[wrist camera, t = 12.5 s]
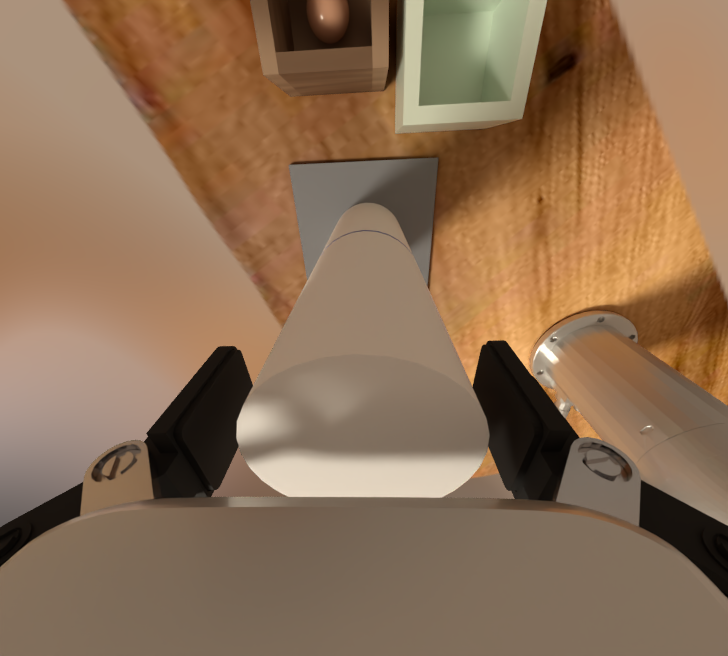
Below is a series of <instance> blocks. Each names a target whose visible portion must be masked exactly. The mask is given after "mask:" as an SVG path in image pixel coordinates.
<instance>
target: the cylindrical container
mask: <svg viewBox="0 0 728 656" xmlns="http://www.w3.org/2000/svg"><path fill="white" fill-rule="evenodd" d="M489 436H490V435H489V429H488V424H487V419H486V416H485V414H484V412H483V410H482V408H481V405H480V403H479V401H478V399H477V396H476V394H475V392H474V390H473V388H472V385H471V383H470V381H469V379H468V376H467V374H466V372H465V370H464V367H463V365H462V363H461V361H460V359H459V356H458V354H457V352H456V350H455V347H454V345H453V343H452V341H451V338H450V336H449V334H448V332H447V330H446V327H445V325H444V323H443V321H442V318H441V316H440V314H439V312H438V310H437V307H436V305H435V303H434V301H433V298H432V296H431V294H430V292H429V289H428V287H427V285H426V283H425V281H424V278H423V276H422V274H421V272H420V269H419V267H418V265H417V263H416V261H415V258H414V256H413V254H412V252H411V249H410V247H409V245H408V243H407V241H406V238H405V236H404V234H403V232H402V230H401V227H400V225H399V223H398V221H397V219H396V217H395V216H394V215H393V213H391V212H390V211H389V210H388V209H387V208H385V207H383V206H382V205H379V204H375V203H360V204H357V205H355V206H352V207H351V208H349V209H348V210H347V211H346V212H345V213H344V214H343V215H342V216H341V218H340V219H339V221H338V223H337V225H336V226H335V228H334V230H333V232H332V234H331V236H330V238H329V240H328V242H327V244H326V246H325V248H324V250H323V252H322V254H321V255H320V257H319V259H318V261H317V263H316V265H315V267H314V269H313V271H312V273H311V275H310V277H309V279H308V281H307V283H306V284H305V286H304V288H303V290H302V292H301V294H300V296H299V298H298V300H297V302H296V304H295V306H294V308H293V310H292V311H291V313H290V315H289V317H288V319H287V321H286V323H285V325H284V327H283V329H282V331H281V333H280V335H279V337H278V339H277V341H276V342H275V344H274V347H273V348H272V350H271V352H270V354H269V356H268V358H267V360H266V362H265V364H264V366H263V368H262V370H261V372H260V374H259V375H258V377H257V379H256V381H255V383H254V385H253V387H252V389H251V391H250V393H249V395H248V397H247V399H246V400H245V402H244V404H243V407H242V409H241V412H240V415H239V417H238V420H237V434H236V438H237V442H238V445H239V449H240V452H241V455H242V456H243V458H244V459H245V461H246V463H247V464H248V466H249V467H250V469H251V470H252V471H254V473H255V474H256V475H257V476H258V477H259V478H260V479H261V480H262V481H264V482H265V483H267V484H268V485H269V486H271V487H272V488H274V489H275V490H277V491H279V492H280V493H282V494H284V495H286V496H288V497H427V498H441V497H443V496H445V495H447V494H449V493H451V492H452V491H454V490H456V489H457V488H458V487H460V486H461V485H462V484H464V483H465V482H466V481H467V480H469V479H470V477H471V476H472V475H473V474H474V473H475V472H476V470H477V469H478V468H479V467H480V465H481V463H482V461H483V459H484V457H485V455H486V453H487V449H488V443H489Z"/></svg>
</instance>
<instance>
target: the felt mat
mask: <svg viewBox="0 0 728 656" xmlns="http://www.w3.org/2000/svg"><path fill="white" fill-rule="evenodd" d="M437 169H438V158H419V159H398V160H378V161H358V162H338V163H318V164H298V165H289V170H290V176H291V182H292V188H293V194H294V201H295V207H296V213H297V219H298V225H299V232H300V238H301V244H302V250H303V256H304V263H305V269H306V275H307V281H308V279H309V277H310V275H311V273H312V271H313V269H314V267H315V265H316V263H317V261H318V259H319V257H320V255H321V254H322V252H323V250H324V248H325V246H326V244H327V242H328V240H329V238H330V236H331V234H332V232H333V230H334V228H335V226H336V225H337V223H338V221H339V219H340V218H341V216H342V215H343V214H344V213H345V212H346V211H347V210H348V209H349V208H351V207H352V206H355V205H357V204H360V203H375V204H379V205H382V206H383V207H385V208H387V209H388V210H389V211H390V212H391V213H393V215H394V216H395V217H396V219H397V221H398V223H399V225H400V227H401V230H402V232H403V234H404V236H405V238H406V241H407V243H408V245H409V247H410V249H411V252H412V254H413V256H414V258H415V261H416V263H417V265H418V267H419V269H420V272H421V274H422V276H423V278H424V281H425V283H426V285H427V286H428V274H429V263H430V251H431V239H432V228H433V216H434V204H435V193H436V181H437Z"/></svg>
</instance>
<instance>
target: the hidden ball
mask: <svg viewBox="0 0 728 656" xmlns="http://www.w3.org/2000/svg"><path fill="white" fill-rule="evenodd" d="M306 11H307V19H308V22H309V25H310V28H311V30H312V32H313V33H314V35H315V36H316V37H317V38H318V39H319V40H320V41H322V42H324V43H327V44H333V43H336V42H338V41H339V40H340V39H341V38H342V37H343V36H344V34H345V32H346V30H347V27H348V24H349V5H348V1H347V0H307V4H306Z"/></svg>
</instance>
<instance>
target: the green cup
mask: <svg viewBox="0 0 728 656" xmlns="http://www.w3.org/2000/svg"><path fill="white" fill-rule="evenodd" d="M546 4H547V0H397V35H396V106H395V134H399V133H417V132H436V131H455V130H473V129H486V128H490V127H494V126H498V125H501V124H505V123H509V122H513V121H516V120H520V119H522V118H523V113H524V109H525V104H526V99H527V94H528V89H529V85H530V80H531V75H532V70H533V66H534V61H535V56H536V51H537V47H538V42H539V37H540V32H541V27H542V23H543V18H544V13H545V8H546Z"/></svg>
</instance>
